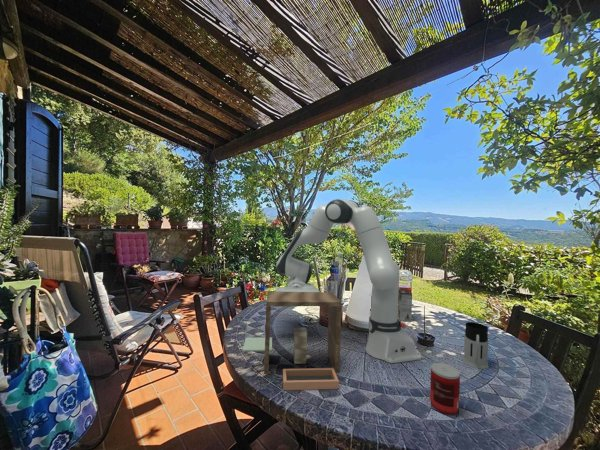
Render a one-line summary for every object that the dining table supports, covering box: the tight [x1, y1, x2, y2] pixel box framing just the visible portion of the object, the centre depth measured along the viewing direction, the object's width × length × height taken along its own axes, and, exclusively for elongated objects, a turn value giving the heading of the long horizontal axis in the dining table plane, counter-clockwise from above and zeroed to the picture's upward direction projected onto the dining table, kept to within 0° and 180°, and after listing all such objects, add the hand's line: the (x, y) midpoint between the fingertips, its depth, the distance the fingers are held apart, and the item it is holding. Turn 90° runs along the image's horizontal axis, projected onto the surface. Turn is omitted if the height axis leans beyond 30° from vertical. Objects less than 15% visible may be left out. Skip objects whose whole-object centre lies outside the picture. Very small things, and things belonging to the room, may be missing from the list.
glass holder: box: [462, 321, 490, 370], centre depth 105 cm, size 9×14×15 cm, turn 149°
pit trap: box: [282, 367, 340, 391], centre depth 90 cm, size 18×8×2 cm, turn 95°
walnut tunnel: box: [263, 291, 342, 375], centre depth 102 cm, size 27×14×26 cm, turn 95°
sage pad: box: [242, 337, 273, 352], centre depth 116 cm, size 12×12×1 cm
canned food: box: [429, 362, 461, 415], centre depth 80 cm, size 8×8×11 cm
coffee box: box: [397, 289, 413, 323], centre depth 156 cm, size 9×6×16 cm
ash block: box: [293, 327, 308, 365], centre depth 104 cm, size 4×4×12 cm
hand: (298, 297), depth 117 cm, fingers open, 8 cm apart
